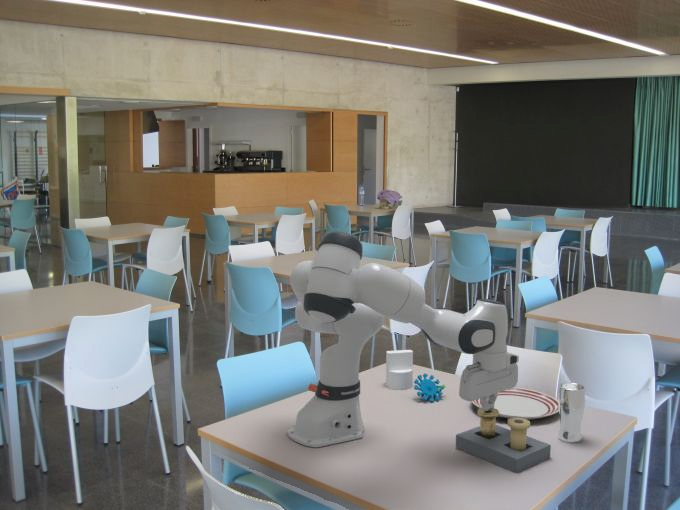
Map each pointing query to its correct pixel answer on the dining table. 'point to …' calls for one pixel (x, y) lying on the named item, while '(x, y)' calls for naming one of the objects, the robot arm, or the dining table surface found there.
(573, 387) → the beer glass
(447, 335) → the robot arm
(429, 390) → the gear
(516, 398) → the dinner plate
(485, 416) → the bushing
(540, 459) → the jig
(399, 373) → the white toy chair
